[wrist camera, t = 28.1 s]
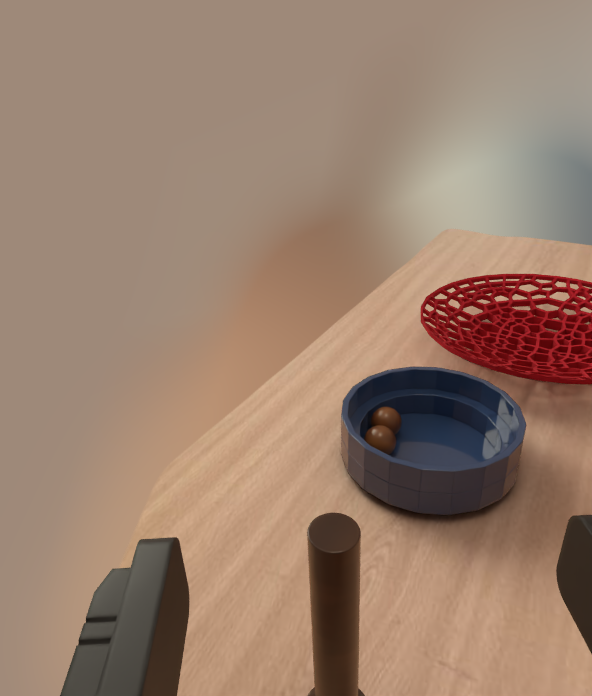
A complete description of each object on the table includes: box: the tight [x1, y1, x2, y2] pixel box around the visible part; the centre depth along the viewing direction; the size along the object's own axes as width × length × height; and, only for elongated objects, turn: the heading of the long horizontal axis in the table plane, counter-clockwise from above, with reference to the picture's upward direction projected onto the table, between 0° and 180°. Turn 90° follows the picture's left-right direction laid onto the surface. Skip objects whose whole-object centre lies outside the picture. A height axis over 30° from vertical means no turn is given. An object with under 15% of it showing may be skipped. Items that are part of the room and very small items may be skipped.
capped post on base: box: [307, 513, 365, 696], centre depth 29 cm, size 4×4×16 cm
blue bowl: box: [341, 367, 526, 515], centre depth 52 cm, size 16×16×6 cm
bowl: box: [421, 274, 592, 384], centre depth 69 cm, size 29×29×5 cm
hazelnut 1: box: [371, 407, 402, 435], centre depth 55 cm, size 3×3×3 cm
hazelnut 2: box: [364, 425, 396, 455], centre depth 52 cm, size 3×3×3 cm
